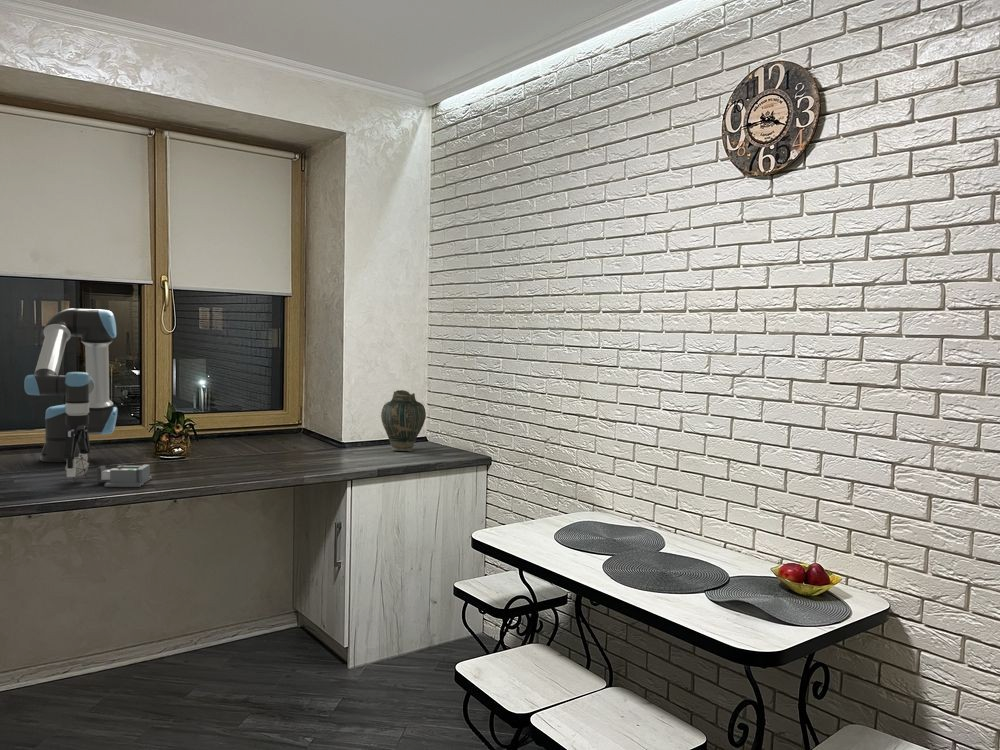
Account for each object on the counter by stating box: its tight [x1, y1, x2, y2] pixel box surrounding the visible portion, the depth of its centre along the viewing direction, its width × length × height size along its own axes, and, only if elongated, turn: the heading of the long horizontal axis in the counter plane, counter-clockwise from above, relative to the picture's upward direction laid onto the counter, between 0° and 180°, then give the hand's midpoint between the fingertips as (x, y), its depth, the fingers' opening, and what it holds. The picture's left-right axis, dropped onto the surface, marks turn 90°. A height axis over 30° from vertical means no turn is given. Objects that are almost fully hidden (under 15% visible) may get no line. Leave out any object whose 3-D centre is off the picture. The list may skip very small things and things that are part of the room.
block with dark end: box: [96, 465, 125, 481], centre depth 268 cm, size 7×9×5 cm
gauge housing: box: [104, 464, 153, 488], centre depth 270 cm, size 14×12×6 cm
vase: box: [380, 389, 427, 452], centre depth 361 cm, size 22×22×30 cm
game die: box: [61, 455, 93, 479], centre depth 267 cm, size 9×8×10 cm
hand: (77, 473), depth 267 cm, fingers closed on game die, 10 cm apart
